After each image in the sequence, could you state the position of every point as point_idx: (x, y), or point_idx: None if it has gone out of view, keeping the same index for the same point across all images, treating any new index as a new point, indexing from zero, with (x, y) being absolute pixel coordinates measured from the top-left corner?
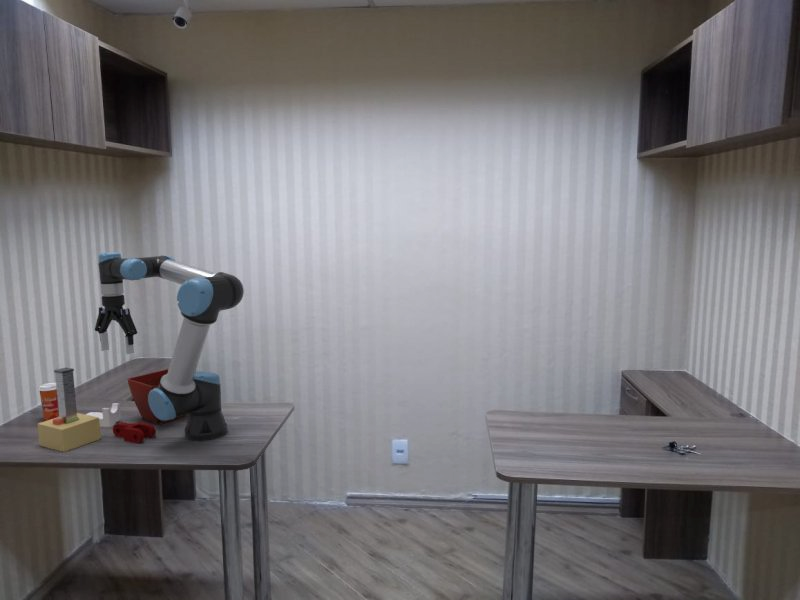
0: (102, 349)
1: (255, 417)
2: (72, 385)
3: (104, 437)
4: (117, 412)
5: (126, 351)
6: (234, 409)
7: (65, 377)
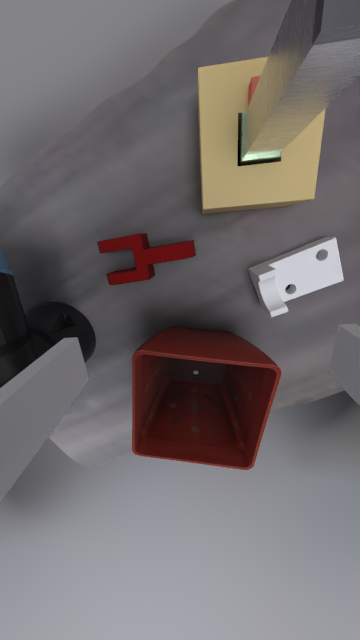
0: (346, 329)
1: (69, 415)
2: (279, 87)
3: (202, 224)
4: (263, 302)
5: (59, 346)
6: (129, 427)
7: None
